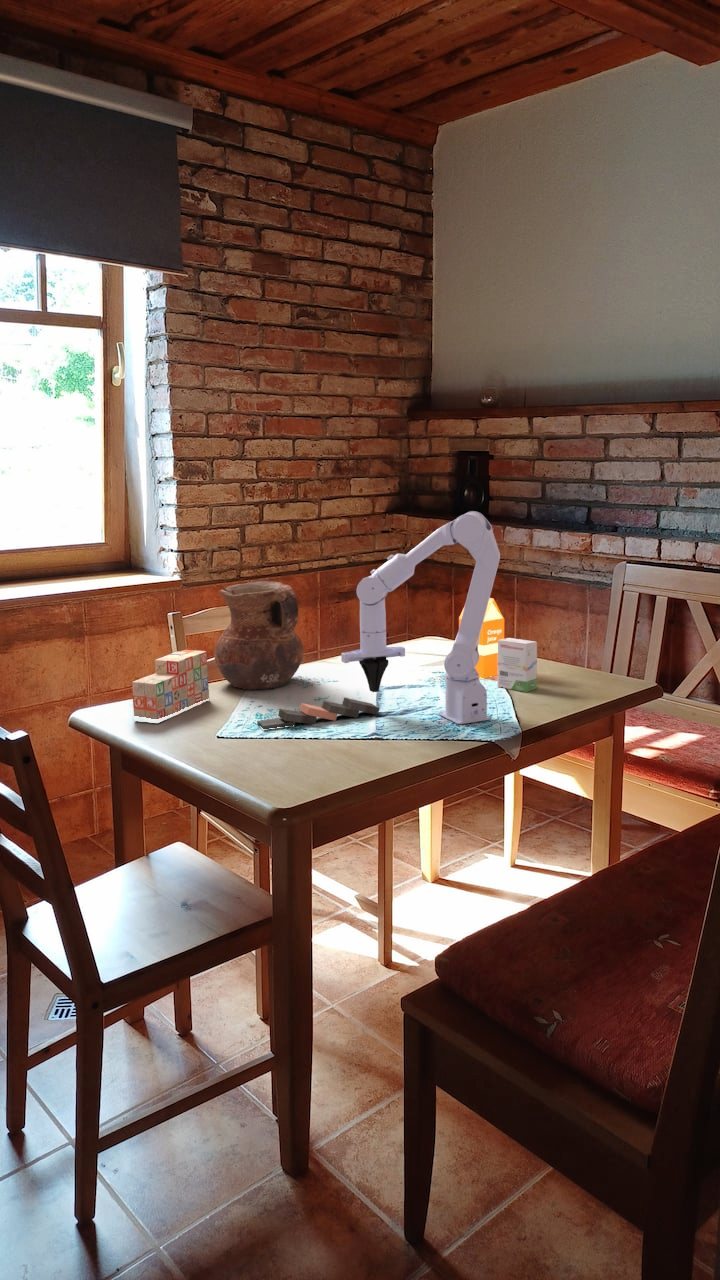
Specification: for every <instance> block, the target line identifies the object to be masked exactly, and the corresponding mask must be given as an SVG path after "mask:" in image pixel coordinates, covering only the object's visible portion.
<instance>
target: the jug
mask: <svg viewBox="0 0 720 1280" xmlns="http://www.w3.org/2000/svg"><path fill="white" fill-rule="evenodd" d="M219 594H220V595H221V596H222V598H223V599H224V601H225V602H226V605H227V606H228V609H229V611H230V612H229V614H230V624H229V625H228V626H227V628H226V629H225V630H224V631H223V632H222V633H221V635H220V636H219V639H218V640H217V642H216V644H215V648H214V660H215V661H214V662H215V664H216V666H217V668H218V671H219V672H220V674H221V675H222V677H223V678H224V679H225V680H226V682H228V683H229V684H230V685H231V686H232V685H233V687H234V686H235V687H234V688H236V687H238V688H237V689H240V688H242V689H241V690H270V689H276V688H279V687H281V686H284V685H285V684H287V683H288V681H290V680H291V679H292V678H293V676H295V674H296V672H297V671H298V670H299V668H300V666H301V662H302V660H303V656H304V643H303V642H302V640H301V638H300V636H299V635H298V634H297V633H296V632H295V628H296V626H297V625H298V621H299V620H298V619H299V618H298V617H299V602H298V600H297V599H298V598H297V596H296V594H295V591H294V590H293V587H292V586H291V585H289V584H284V583H281V582H279V581H275V580H256V581H249V582H247V583H238V584H237V583H236V584H233V585H229V586H226V587H222V589H220V591H219ZM275 687H276V688H275ZM269 688H270V689H269Z"/></svg>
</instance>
